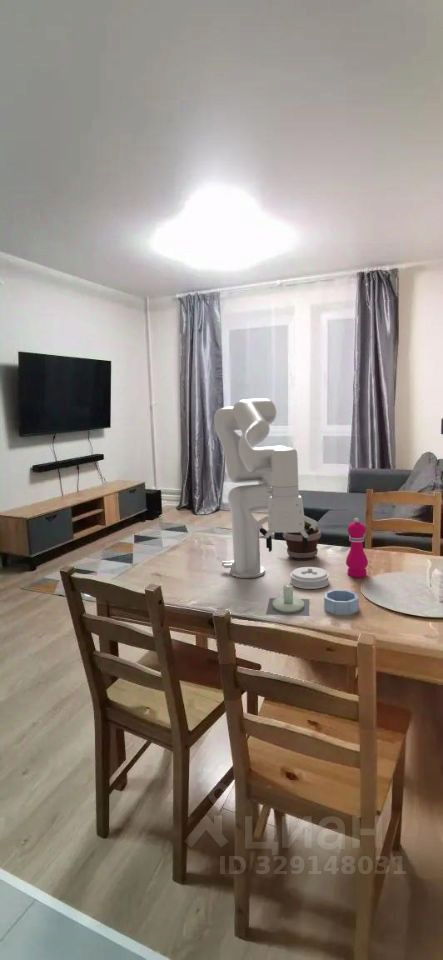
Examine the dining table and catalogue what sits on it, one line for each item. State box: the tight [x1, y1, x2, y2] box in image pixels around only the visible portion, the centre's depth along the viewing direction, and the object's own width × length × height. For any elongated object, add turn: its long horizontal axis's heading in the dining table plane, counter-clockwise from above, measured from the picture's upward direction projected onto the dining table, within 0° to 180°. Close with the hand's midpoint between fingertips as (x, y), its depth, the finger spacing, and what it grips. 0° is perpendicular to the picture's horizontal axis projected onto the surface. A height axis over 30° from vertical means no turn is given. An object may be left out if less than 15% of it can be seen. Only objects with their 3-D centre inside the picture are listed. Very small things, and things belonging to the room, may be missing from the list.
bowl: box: [323, 589, 360, 616], centre depth 139 cm, size 9×9×4 cm
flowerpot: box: [282, 521, 322, 561], centre depth 189 cm, size 14×15×20 cm
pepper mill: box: [345, 517, 369, 578], centre depth 166 cm, size 7×7×20 cm
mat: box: [265, 597, 310, 617], centre depth 142 cm, size 12×12×1 cm
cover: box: [273, 583, 304, 613], centre depth 142 cm, size 9×9×6 cm
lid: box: [289, 566, 330, 590], centre depth 160 cm, size 13×13×5 cm
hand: (287, 550), depth 140 cm, fingers open, 9 cm apart
